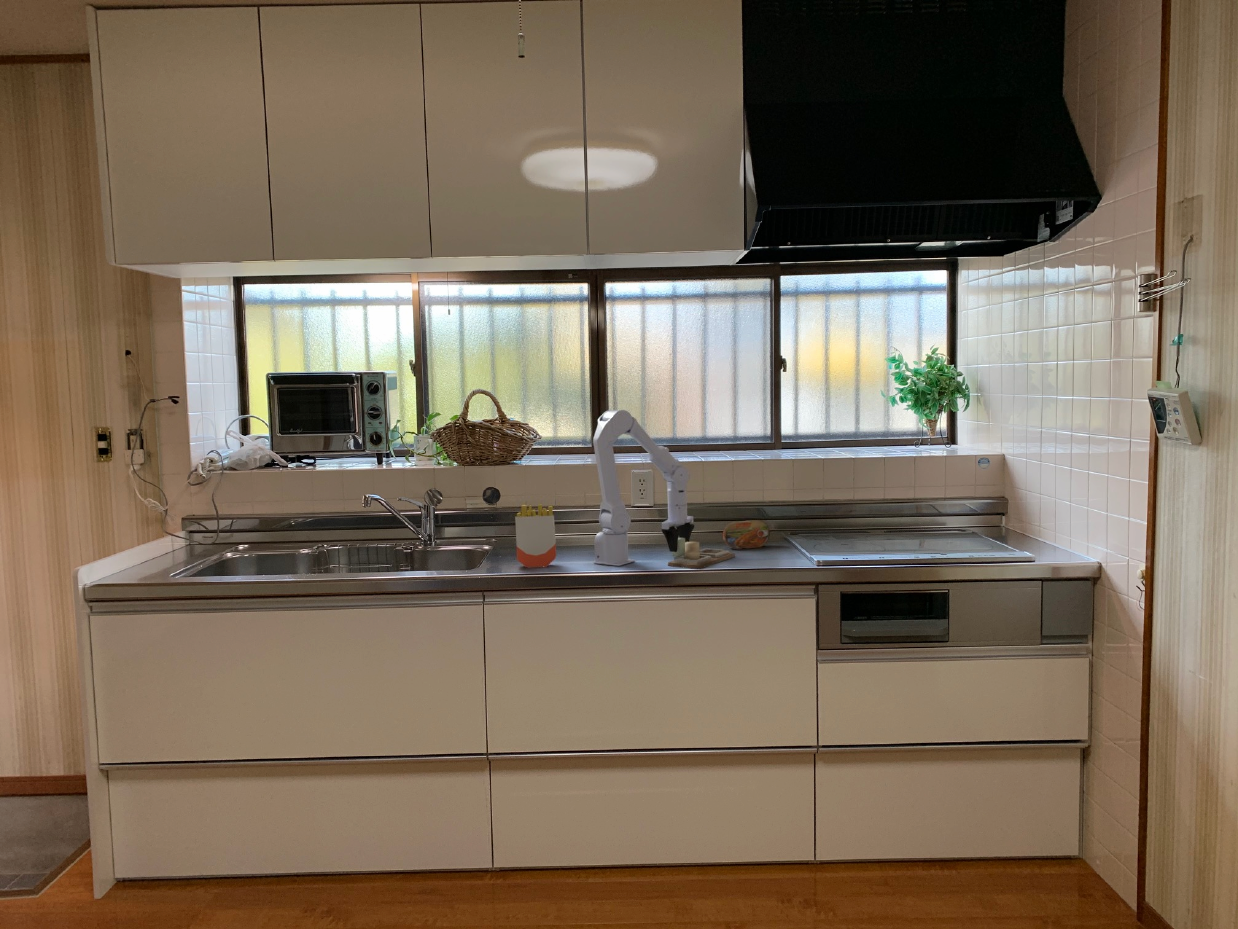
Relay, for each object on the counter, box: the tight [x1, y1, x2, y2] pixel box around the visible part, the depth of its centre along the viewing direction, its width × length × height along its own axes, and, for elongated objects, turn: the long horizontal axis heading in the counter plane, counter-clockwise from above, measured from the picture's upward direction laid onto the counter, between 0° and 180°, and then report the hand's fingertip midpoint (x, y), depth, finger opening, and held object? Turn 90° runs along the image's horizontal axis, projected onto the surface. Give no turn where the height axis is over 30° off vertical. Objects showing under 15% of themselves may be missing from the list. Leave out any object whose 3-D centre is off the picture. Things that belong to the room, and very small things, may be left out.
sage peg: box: [671, 537, 685, 558], centre depth 249 cm, size 4×4×5 cm
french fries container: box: [514, 504, 557, 568], centre depth 240 cm, size 5×11×18 cm, turn 90°
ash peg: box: [685, 541, 701, 560], centre depth 234 cm, size 4×4×5 cm
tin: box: [722, 519, 771, 550], centre depth 258 cm, size 15×3×8 cm, turn 105°
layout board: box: [667, 548, 735, 570], centre depth 239 cm, size 10×20×2 cm, turn 143°
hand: (678, 549), depth 249 cm, fingers open, 5 cm apart
